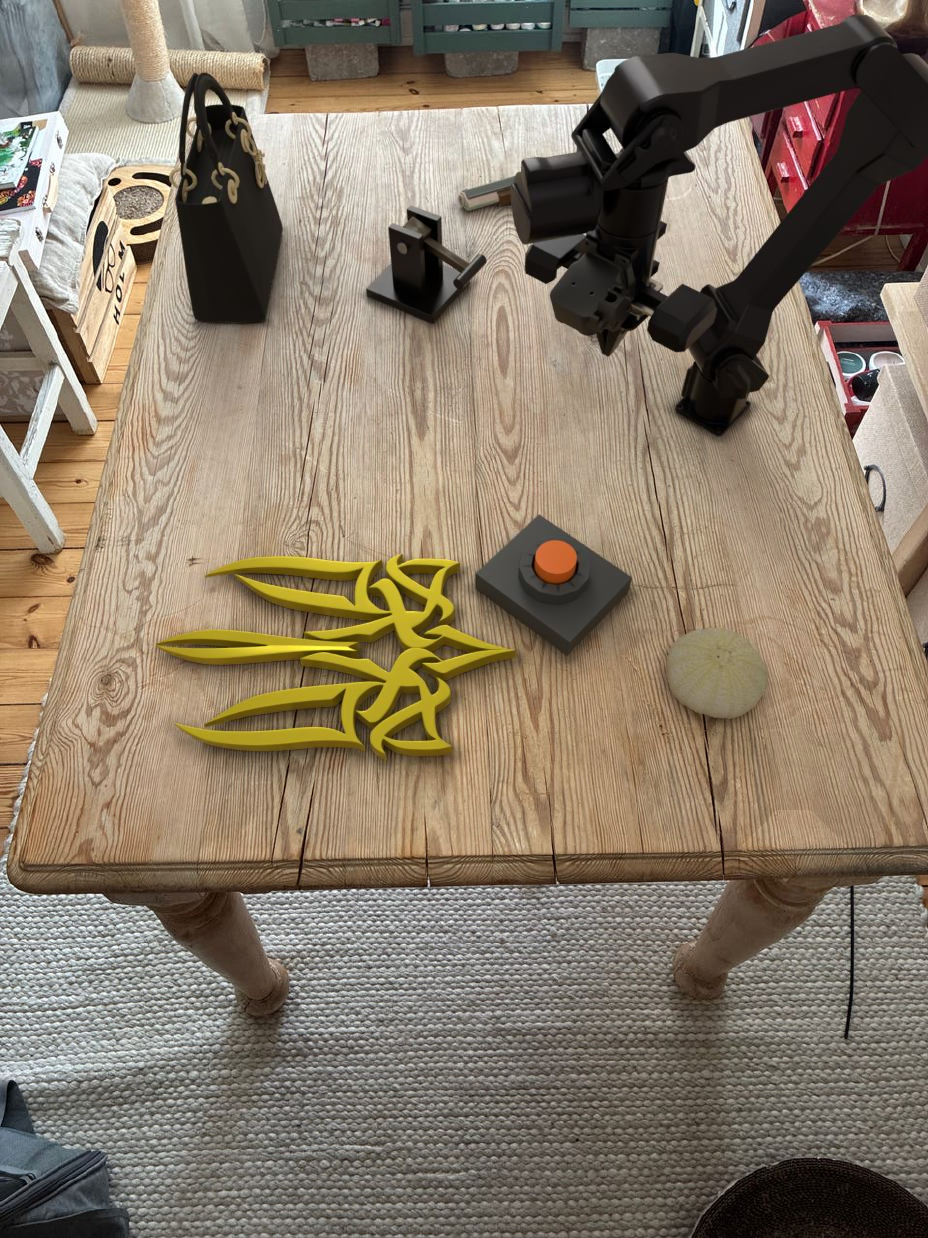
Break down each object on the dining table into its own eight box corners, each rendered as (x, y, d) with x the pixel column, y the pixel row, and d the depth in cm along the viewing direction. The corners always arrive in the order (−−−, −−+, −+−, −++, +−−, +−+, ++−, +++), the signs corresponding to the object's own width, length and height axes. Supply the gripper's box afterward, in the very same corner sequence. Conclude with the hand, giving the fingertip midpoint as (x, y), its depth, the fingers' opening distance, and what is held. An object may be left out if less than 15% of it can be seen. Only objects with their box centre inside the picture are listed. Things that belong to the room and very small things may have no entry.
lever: (484, 269, 115) (489, 254, 112) (460, 294, 112) (465, 280, 110) (416, 223, 115) (420, 208, 113) (391, 248, 113) (395, 233, 110)
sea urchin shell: (745, 739, 84) (703, 676, 81) (680, 732, 90) (638, 673, 88) (792, 668, 88) (753, 605, 85) (725, 665, 94) (687, 607, 91)
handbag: (265, 329, 116) (220, 134, 94) (192, 328, 116) (131, 133, 94) (285, 225, 126) (249, 29, 105) (219, 225, 127) (169, 28, 105)
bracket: (470, 282, 120) (470, 214, 112) (432, 323, 116) (430, 256, 108) (405, 257, 123) (400, 188, 115) (366, 296, 119) (358, 228, 110)
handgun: (494, 252, 123) (456, 202, 129) (623, 213, 127) (580, 166, 133) (494, 238, 121) (456, 187, 127) (625, 199, 126) (582, 151, 131)
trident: (515, 757, 83) (128, 747, 84) (514, 764, 85) (133, 754, 86) (516, 555, 95) (176, 548, 96) (515, 564, 97) (180, 557, 97)
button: (583, 565, 92) (585, 555, 90) (557, 591, 90) (559, 580, 88) (551, 543, 93) (553, 533, 91) (526, 568, 91) (527, 558, 90)
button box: (628, 592, 95) (635, 566, 91) (567, 656, 91) (571, 632, 87) (537, 529, 99) (540, 502, 95) (475, 588, 95) (475, 562, 91)
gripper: (489, 221, 83) (488, 355, 96) (665, 310, 76) (638, 441, 90) (565, 163, 87) (553, 299, 101) (737, 243, 81) (701, 377, 94)
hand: (607, 353), depth 96 cm, fingers closed
